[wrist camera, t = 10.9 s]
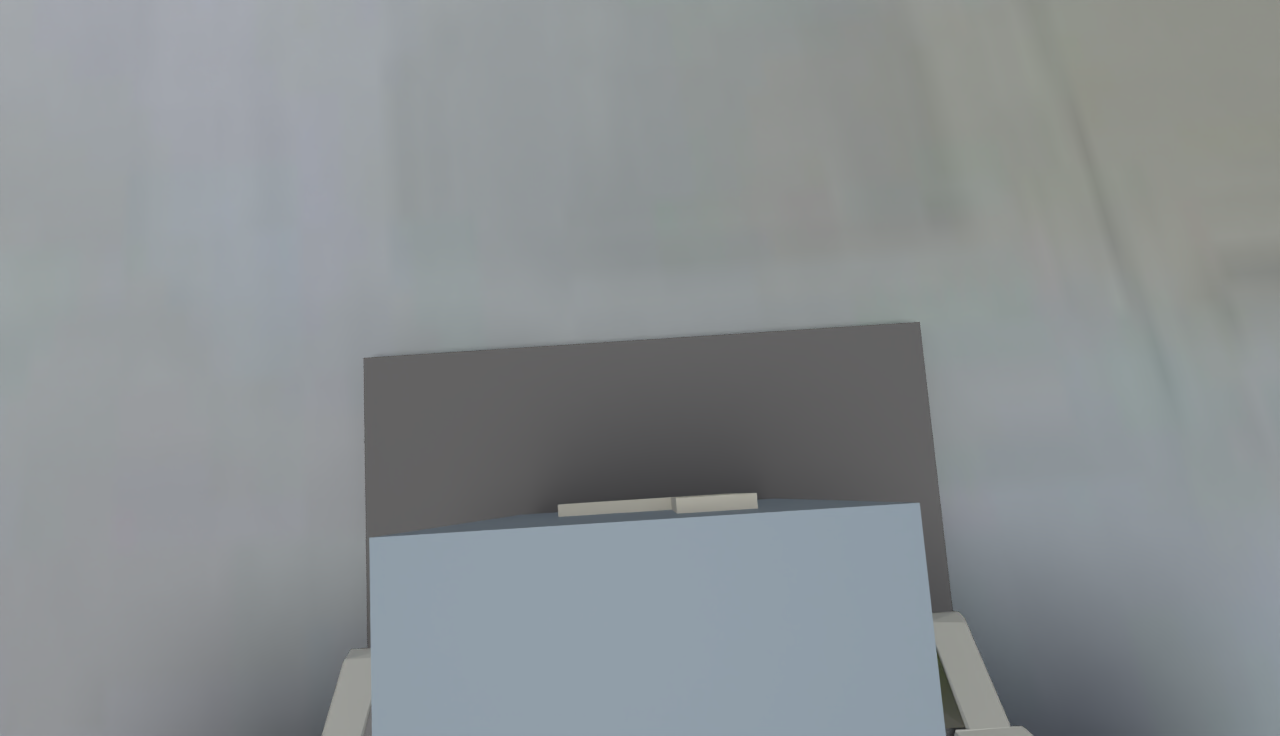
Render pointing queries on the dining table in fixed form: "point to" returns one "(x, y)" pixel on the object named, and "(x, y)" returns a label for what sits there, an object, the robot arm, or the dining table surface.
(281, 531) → the dining table surface
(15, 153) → the dining table surface
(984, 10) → the dining table surface
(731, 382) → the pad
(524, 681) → the letter block
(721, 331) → the dining table surface
